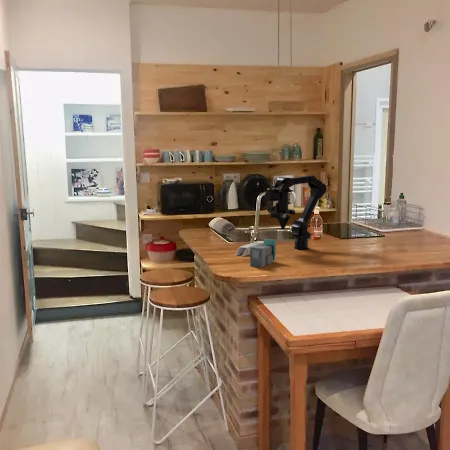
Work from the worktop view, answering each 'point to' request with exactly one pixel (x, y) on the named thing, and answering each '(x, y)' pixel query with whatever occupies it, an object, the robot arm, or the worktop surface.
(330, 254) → the worktop surface
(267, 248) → the sleeve
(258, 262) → the socket
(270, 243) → the teal green slab
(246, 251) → the box
